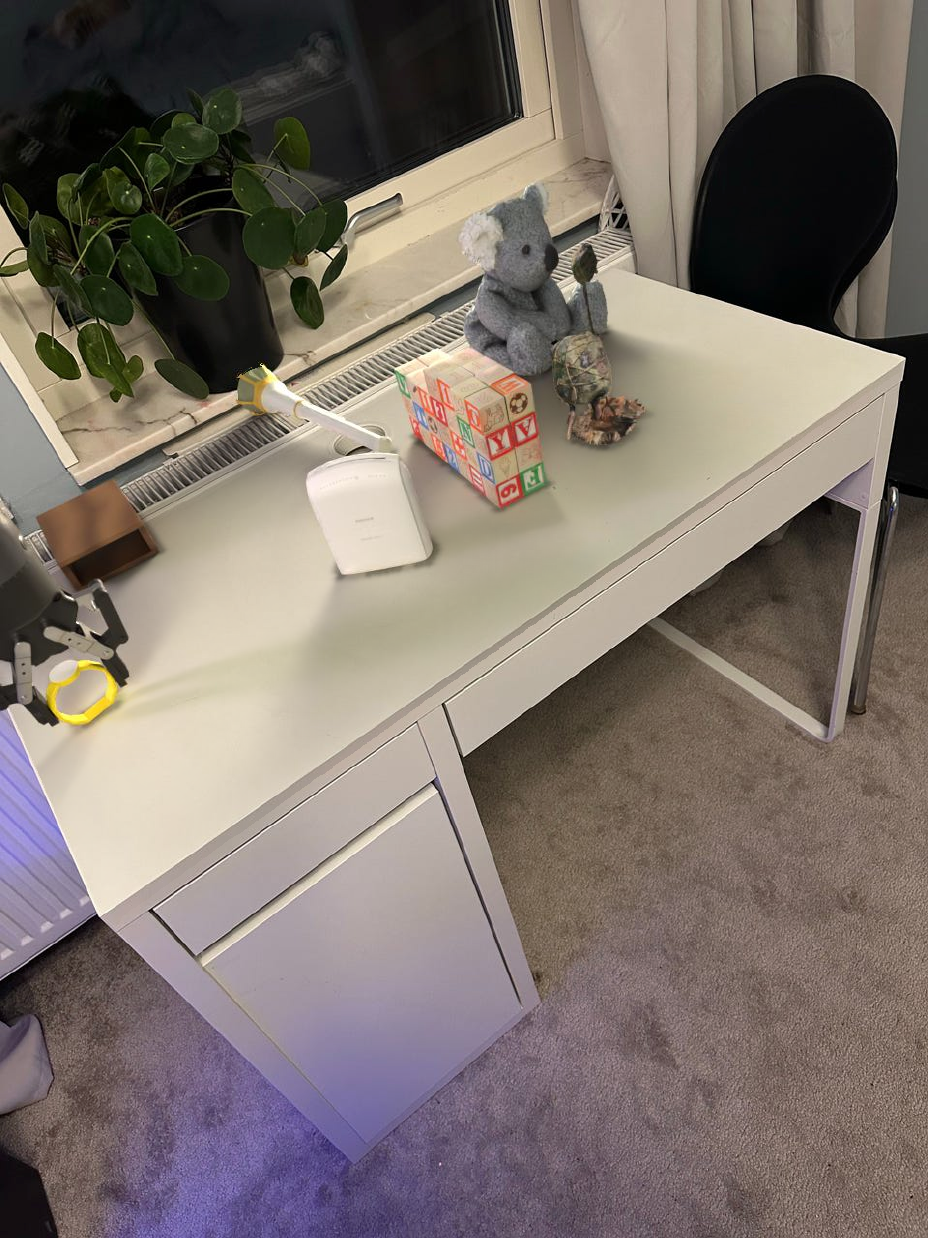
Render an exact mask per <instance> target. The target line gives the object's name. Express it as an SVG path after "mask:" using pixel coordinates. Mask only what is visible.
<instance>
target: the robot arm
mask: <svg viewBox="0 0 928 1238" xmlns="http://www.w3.org/2000/svg"><path fill="white" fill-rule="evenodd" d="M26 539H27V538H26V537H24V536H23V534H22V532H21V531H20V530H19V528H18V527H17V525H16V524H15V522H14V521H13V520H12V519H11V518H10V517H9V515H7V514H6V512H5V511H4V510H3V509H2V508H1V507H0V661H2V662H5V663H9V664H10V670H11V677H12V683H9V684H6V685H3V684H2V683H0V712H3V711H6V710H7V709H8V708H9V706H12V705H22V706H23V707H24V708H25V709H26V710H27V711H28V713H30V714H31V716H32V717H33V718H34V719H35V721H36V722H37V723H38V724H40V725H42V726H45V725H47V724H49V725H50V727H52V728H53V727H55V726H57V725H59V724H60V722H61V721H60V720H59V719H58V718H57V716H56V715H55V714H54V713H53V712H52V711H51V709H50V708H49V707H48V705H47V699H46V697H44V695H43V694H42V693H41V692H40V691H39V690H38V688H37V687H36V686H35V685H33V670H32V666H34V667H35V668H36V667H38V666H40V665H42V664H43V663H46V662H47V661H48V660H49V659H50V658H52V657H53V656H57V655H59V654H62V653H64V652H67V651H68V650H69V649H70V648H71V649H74V650H76V651H78V652H80V653H83V654H86V653H88V654H89V655H92V656H94V657H97V658H99V659H100V661H101V664H102V665H103V666H104V667H105V668H106V669H107V670H108V671H109V673H110V674H111V676H112V677H113V678H114V680H115V681H116V684H117V686H119V687H120V689H122V688H123V687H125V686H127V685H128V682H127V679H128V678H130V671H129V669H128V668H127V665H126V664H125V662H124V661H123V659H122V658H121V655H119V653H118V652H117V649H118V647H120V645H125V644H127V642H128V641H129V638H130V637H129V634H128V633H127V630H126V628H125V626H124V623H123V622H122V620H121V617H120V615H119V612H118V611H117V609H116V606H115V605H114V603H113V600H112V599H111V595H110V594H109V592H108V590H107V588H106V587H105V585H104V583H103V582H102V581H101V580H99V579H93V580H91V581H90V582H89V584H88V587H89V588H86V589H84V590H81V591H79V592H77V591H75V592H74V593H72V592H70V591H67V590H65V589H63V588H62V587H61V586H59V584H58V582H57V581H56V580H55V579H54V577H53V576H52V575H51V573H50V572H49V570H48V569H47V567H46V566H45V565H44V563H43V562H42V560H41V559H40V558H39V556H38V555H37V554H36V552H35V550H34V548H32V547H31V545H30V544H29V542H28V541H27V540H26ZM81 607H85V608H87V609H88V611H90V612H91V613H99V612H100V614H101V616H102V618H103V619H104V623H105V624H106V626H107V628H106V630H105V631H104V632H103V633H100V632H97V631H96V630H93V629H91V628H89V627H88V626H87V625H86V624H85V623H83V622H80V621H79V620H78V615H79V614H78V613H79V608H81Z"/></svg>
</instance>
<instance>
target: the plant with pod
mask: <svg viewBox="0 0 928 1238" xmlns="http://www.w3.org/2000/svg"><path fill="white" fill-rule="evenodd" d="M598 263H599V260H598V258H597V255H596V253H595V250H594V248H593V246H592V244H591V243H589V242H585V243H584V242H582V243H581V244H580V246H579V248H578V249H576V251H575V253H574V254H573V256H572V258H571V263H570V268H571V272H572V275H573V279H574V280H575V282H577V284H579V283H580V284H582V286H583V287H582V288H583V295H584V300H585V305H586V312H587V316H588V321H589V326H590V331H591V332H592V333H590V332H589V331H585V332H581V333H579V334H576V335H572V336H567V337H565V338H563V339H561V340H559V341H556V343H554V344H553V347H552V348H551V349H550V350H551V351H550V357H551V363H552V366H551V375H552V381H553V389H554V391H555V393H556V397H557V400H558V401H559V402H561V403H563V404H567V405H568V407H569V414H568V415H567V419H566V426H567V437H566V440H567V441H568V440H571V438H572V436H573V438H575V439H577V440H578V441H582V442H584V444H586V443H588V442H589V445H596V446H597V447H598V446H599V447H601V446H603V447H605V446H609V445H613V444H614V443H619V441H621V439H623V438H624V437H625V436H626V435H629V432H632V431H634V428H635V425H636V424H637V420H639V419H641V418H642V417H641V415H642V414H643V413H645V412H647V410H646V409H645V406H642V405H643V403H639V401H638V400H639V399H638V397H637V398H635V399H634V400H632V399H631V400H628V399H627V398H626V396H622V395H620V396H617V397H612V396H611V397H610V396H609V394H610V392H611V391H612V386H613V381H612V373H611V369H612V367H611V365H610V362H609V359H608V356H607V354H608V353H607V352H606V350H605V347H604V345H603V342H602V339H600V336H598V334H597V335H595V332H594V329H593V325H592V320H591V313H590V310H589V304H588V298H587V296H588V295H587V290H586V282H590V281H592V280H593V278H594V276H595V275H598V273H599V270H598V267H597V266H598ZM548 343H549V341H547V344H548ZM576 405H587V407H588V408H587V409H586V410H583V413H579V414H578V415H577V416H576V411H577V406H576ZM575 417H576V418H575ZM574 421H575V422H574Z"/></svg>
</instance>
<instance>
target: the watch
mask: <svg viewBox="0 0 928 1238" xmlns="http://www.w3.org/2000/svg"><path fill="white" fill-rule="evenodd" d="M88 670H92V671H93V670H94V671H99V672H103V673H104V674H105V677H106V682H107V687H106V690H105V694H104V696H103V697H102V698H100V699H99V700H98V701H97V702H95V703H94V704H93V705H92V706H91V707H89V708H88V709H87V710H86V711H85V712H84V713H79V714H73V715H69V714H67V713H66V714H65V713H63V712H60V711H59V710H58V709H57V698H56V697H57V694H58V692H59V691H60V688H63V687H66V686H68V685H70V684H72V683H74V682H75V681H76V680H77V679H78V678H79V676H80V675H81V672H83V671H88ZM48 681H49V684H48V686H47V688H46V692H45V699H46V700H47V705H48V707H49V708H50V709H51V711H52V712H53V713H54V714H55V715H56V716H57V718H58V719H59V721H60V722H63V723H66V724H69V725H72V726H74V725H75V726H78V725H86V724H90V723H91V722H92V721H93V720H94V719H95V718H97V716H99V715H100V714H101V713H102V712H103V711H105V710H106V709H107V708H109V707H110V706H111V705H113V704H114V702H115V701H116V700H115V699H116V696H117V693H118V684H117V682H116V681H115V680H114V678H113V677H112V676H111V674H110V673H109V671H108V670H107V669H106V667H105V666H104V665H103V663H102V662H101V663H100V662H97V661H94V660H90V659H89V660H88V659H84V660H83V659H82V660H79V661H77V660H75V659H66V660H63V661H60V662H59V663H58V664H56V665H55V666H54V667H53V668H51V671H50V672H49V675H48Z"/></svg>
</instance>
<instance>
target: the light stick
mask: <svg viewBox="0 0 928 1238" xmlns="http://www.w3.org/2000/svg"><path fill="white" fill-rule="evenodd" d="M261 364H262V363H261ZM261 364H260V366H262V367H258V368H255V369H252V370H250V371H248V372H246V371H245V372H246V373H245V372H244V373H245V374H244V373H241V374H240V375H239V376H238V375H237V376H238V377H237V376H236V378H240V379H239V381H238V384H237V389H236V391H237V392H236V393H238V400H237V399H236V398H235V397H234V399H236V400H235V402H236V404H238V405H241V406H242V407H243V408H244V410H247V411H249V413H250V414H251V415H253V416H261V415H265V414H268V413H270V414H277V413H282V414H285V415H288V416H290V417H294V418H296V419H298V420H300V421H301V420H306V421H308V422H311V423H313V424H315V425H317V426H319V427H322V428H324V429H326V430H328V431H330V432H333V433H335V434H337V435H339V436H342V437H343V438H346V439H348V440H350V441H352V442H355V443H357V444H359V445H361V446H364V447H366V448H367V449H369V450H372V451H374V452H375V453H391V452H392V448H393V441H392V440H391V438H390V436H389V435H383V436H381V435H379V434H376V433H374V432H373V431H370V430H367V429H365V428H364V427H361V426H359V425H356V424H354V423H352V422H350V421H347V420H346V418H345V417H344V416H341V415H339V414H337V413H334V412H332V411H330V410H327V409H324V408H322V407H321V406H318V405H315V404H313V403H310V402H309V401H308V400H306V399H303V398H301V397H300V396H298V395H296V394H295V393H293V392H291V391H289V390H288V387H287V386H286V385H285V383H283V382H282V381H281V379H280V376H278V379H279V380H278V379H277V378H276V376H277V375H276V374H274V373H273V372H272V371H271V370H270V369H268V368H267V367H266V365H265V364H263V365H261ZM242 374H243V375H242ZM275 375H276V376H275Z"/></svg>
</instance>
